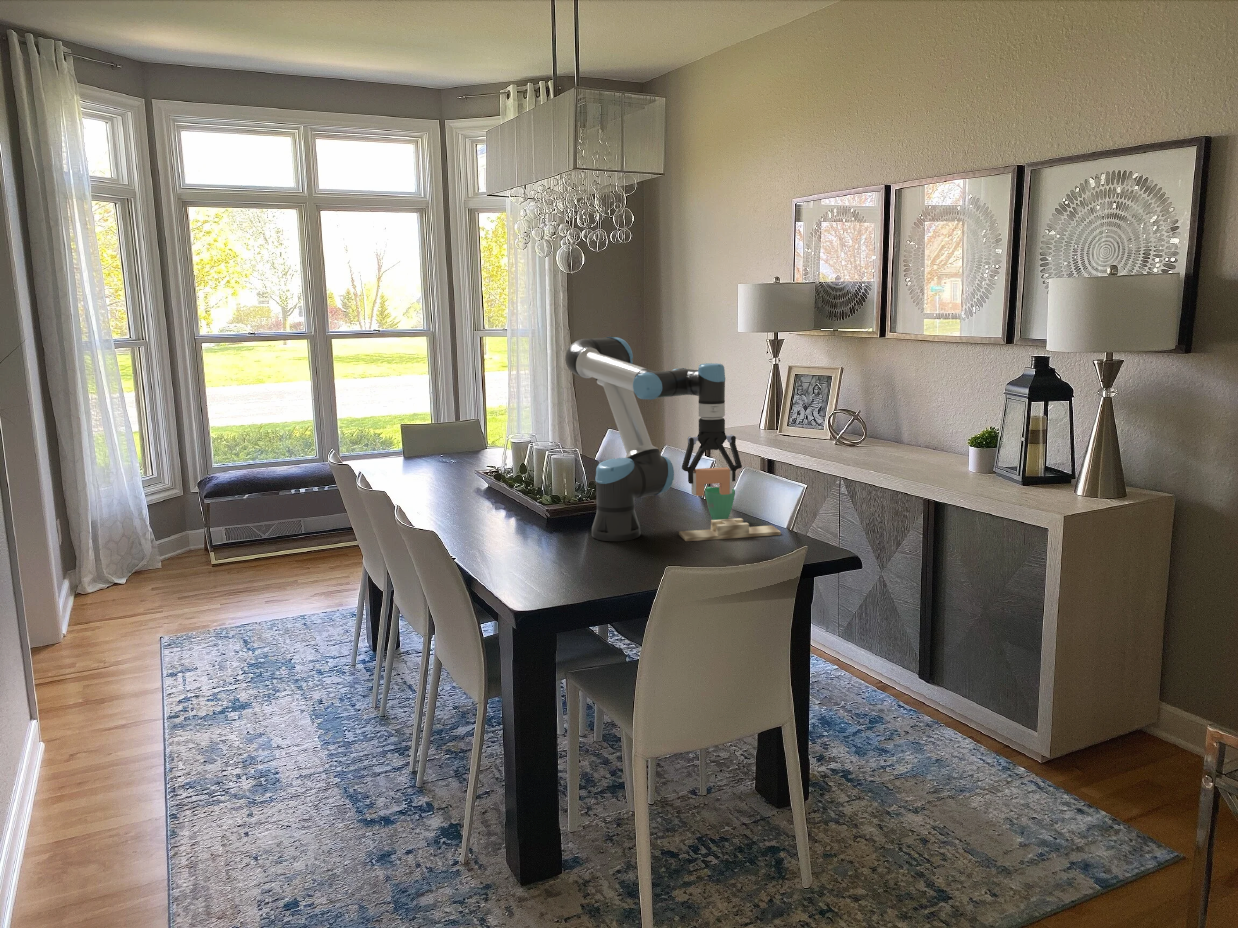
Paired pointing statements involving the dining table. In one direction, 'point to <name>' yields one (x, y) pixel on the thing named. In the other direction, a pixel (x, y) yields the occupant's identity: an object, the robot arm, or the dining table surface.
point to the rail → (729, 530)
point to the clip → (713, 479)
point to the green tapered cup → (719, 503)
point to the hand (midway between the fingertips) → (711, 493)
